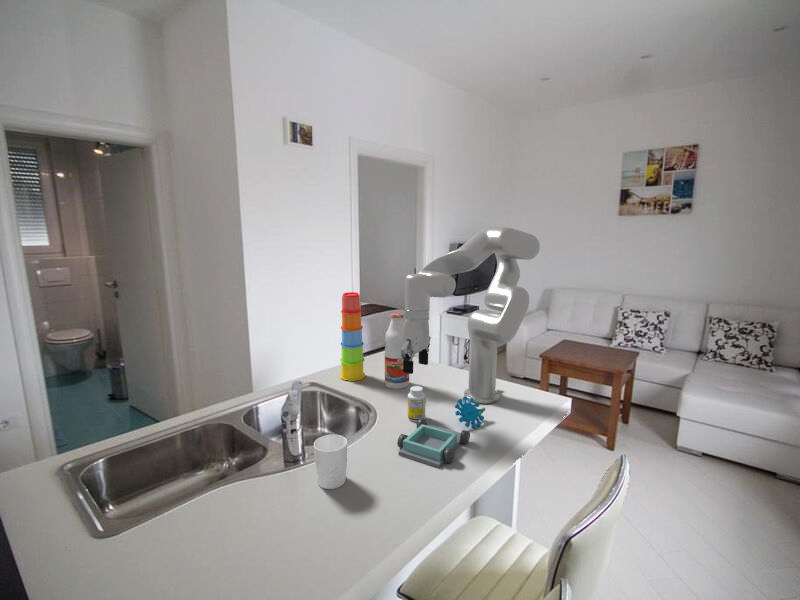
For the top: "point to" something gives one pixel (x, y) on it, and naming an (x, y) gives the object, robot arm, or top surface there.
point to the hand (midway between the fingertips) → (415, 368)
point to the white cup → (331, 460)
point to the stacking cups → (351, 338)
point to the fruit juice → (395, 354)
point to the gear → (469, 412)
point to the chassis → (431, 444)
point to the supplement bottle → (416, 404)
